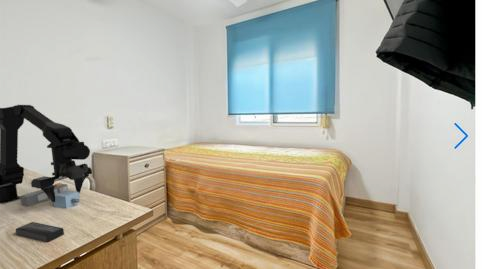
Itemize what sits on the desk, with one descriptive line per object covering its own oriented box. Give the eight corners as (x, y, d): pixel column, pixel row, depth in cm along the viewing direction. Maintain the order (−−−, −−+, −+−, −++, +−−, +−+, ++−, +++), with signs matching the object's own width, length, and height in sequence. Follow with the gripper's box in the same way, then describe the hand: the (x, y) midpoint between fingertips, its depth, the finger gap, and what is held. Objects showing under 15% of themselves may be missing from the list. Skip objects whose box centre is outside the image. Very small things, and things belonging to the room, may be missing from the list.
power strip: (21, 205, 86) (19, 193, 85) (62, 191, 100) (60, 181, 100) (28, 206, 85) (27, 194, 84) (68, 192, 99) (67, 182, 98)
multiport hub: (48, 244, 61) (47, 236, 60) (15, 236, 65) (14, 228, 65) (65, 235, 65) (64, 228, 65) (33, 228, 69) (32, 221, 69)
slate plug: (50, 206, 85) (49, 194, 84) (64, 201, 89) (63, 190, 89) (72, 210, 81) (71, 197, 81) (85, 204, 86) (84, 192, 85)
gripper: (49, 166, 72) (54, 210, 74) (100, 154, 90) (103, 190, 91) (27, 164, 75) (33, 206, 77) (80, 153, 93) (84, 188, 95)
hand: (66, 197), depth 85 cm, fingers open, 9 cm apart
